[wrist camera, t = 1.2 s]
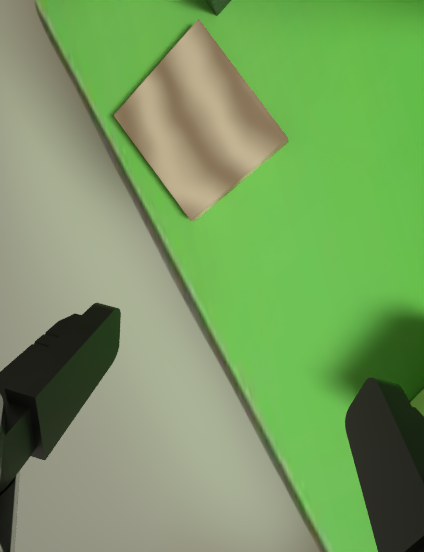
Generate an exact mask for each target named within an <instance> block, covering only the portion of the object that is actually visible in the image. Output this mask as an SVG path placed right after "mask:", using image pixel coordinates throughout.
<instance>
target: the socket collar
mask: <svg viewBox="0 0 424 552" xmlns="http://www.w3.org/2000/svg"><path fill="white" fill-rule="evenodd" d="M230 1H231V0H206V2H207V3H208V4H209V6H210V7H211V8H212V10H213V11H214V12H215V14H216V15H218V14H219V13H220V12H221V11H222V10H223V9H224V8H225V7H226V5H227V4H228V3H229V2H230Z"/></svg>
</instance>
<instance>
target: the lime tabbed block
mask: <svg viewBox="0 0 424 552" xmlns="http://www.w3.org/2000/svg"><path fill="white" fill-rule="evenodd" d="M410 404H411V406H412V407H415V408H416V409H417V410H418V411H419V412H420V413H421V414H422V415H423V416H424V389H423V390H422V391H421V392H420V393H419V394H418V395H417V396H416V397H415V398H414V399H413V400H412V401H411V402H410Z"/></svg>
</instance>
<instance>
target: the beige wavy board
mask: <svg viewBox="0 0 424 552" xmlns="http://www.w3.org/2000/svg"><path fill="white" fill-rule="evenodd" d="M114 117H115V118H116V120H117V121H118V122H119V124H120V125H121V126H122V128H123V129H124V130H125V132H126V133H127V135H128V136H129V137H130V139H131V140H132V141H133V143H134V144H135V145H136V147H137V148H138V149H139V151H140V152H141V154H142V155H143V156H144V158H145V159H146V160H147V162H148V163H149V164H150V166H151V167H152V169H153V170H154V171H155V173H156V174H157V175H158V177H159V178H160V179H161V181H162V182H163V184H164V185H165V186H166V188H167V189H168V190H169V192H170V193H171V194H172V196H173V197H174V198H175V200H176V201H177V203H178V204H179V205H180V207H181V208H182V209H183V211H184V212H185V213H186V215H187V216H188V218H189V219H190V220H191V221H195V220H197V219H198V218H199V217H200V216H201V215H203V214H204V213H205V212H206V211H207V210H208V209H210V208H211V207H212V206H213V205H214V204H216V203H217V202H218V201H219V200H220V199H222V198H223V197H224V196H225V195H226V194H227V193H229V192H230V191H231V190H232V189H233V188H235V187H236V186H237V185H238V184H239V183H240V182H242V181H243V180H244V179H245V178H246V177H248V176H249V175H250V174H251V173H252V172H254V171H255V170H256V169H257V168H258V167H259V166H261V165H262V164H263V163H264V162H265V161H267V160H268V159H269V158H270V157H271V156H272V155H274V154H275V153H276V152H277V151H278V150H280V149H281V148H282V147H283V146H284V145H286V144H287V143H288V138H287V136H286V135H285V134H284V132H283V131H282V130H281V128H280V127H279V126H278V124H277V123H276V122H275V120H274V119H273V118H272V116H271V115H270V114H269V112H268V111H267V110H266V108H265V107H264V106H263V104H262V103H261V102H260V100H259V99H258V98H257V96H256V95H255V94H254V92H253V91H252V90H251V88H250V87H249V86H248V84H247V83H246V82H245V80H244V79H243V78H242V76H241V75H240V74H239V72H238V71H237V70H236V68H235V67H234V66H233V64H232V63H231V62H230V60H229V59H228V58H227V56H226V55H225V54H224V52H223V51H222V50H221V48H220V47H219V46H218V44H217V43H216V42H215V40H214V39H213V38H212V36H211V35H210V34H209V32H208V31H207V30H206V28H205V27H204V26H203V24H202V23H201V22H200V20H199V19H198V20H197V21H196V22H195V23H194V25H193V26H192V27H191V28H190V29H189V30H188V31H187V33H186V34H185V35H184V36H183V37H182V38H181V39H180V41H179V42H178V43H177V44H176V45H175V46H174V47H173V48H172V50H171V51H170V52H169V53H168V54H167V55H166V56H165V58H164V59H163V60H162V61H161V62H160V63H159V64H158V65H157V67H156V68H155V69H154V70H153V71H152V72H151V73H150V75H149V76H148V77H147V78H146V79H145V80H144V81H143V83H142V84H141V85H140V86H139V87H138V88H137V89H136V90H135V92H134V93H133V94H132V95H131V96H130V97H129V98H128V100H127V101H126V102H125V103H124V104H123V105H122V106H121V108H120V109H119V110H118V111H117V112H116V113H115V114H114Z"/></svg>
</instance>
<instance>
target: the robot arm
mask: <svg viewBox="0 0 424 552" xmlns="http://www.w3.org/2000/svg"><path fill="white" fill-rule="evenodd" d="M120 315H121V313H120V309H118V308H115V307H111V306H107V305H103V304H99V303H95V304H93V305H92V306H91V307H90V308H89V309H88V310H87V311H86V312H85V313H84V314H83V315H78V314H73V315H71V316H69V317H67V318H65V319H62V320H60V321H58V322H57V323H56V324H55V325H54V326H53V327H51V328H50V329H49V330H48V331H47V332H46V334H45V335H42V336H41V337H40V338H39V339H37V340H36V341H35V343H34V345H33V344H32V345H31V346H29V347H28V348H27V349H26V350H25V351H24V352H23V353H21V354H20V355H19V356H18V357H17V358H16V359H14V360H13V361H12V362H11V363H10V364H9V365H8V366H6V367H5V368H4V369H3V370H2V371H1V372H0V552H15V537H16V521H17V506H18V505H17V504H18V491H19V475H20V474H19V471H20V469H21V468H22V466H23V465H24V464H25V462H26V461H27V460H28V458H29V457H30V456H33V457H36V458H39V459H42V460H46V458H47V457H48V455H49V454H50V453H51V451H52V450H53V448H54V447H55V445H56V444H57V442H58V441H59V440H60V438H61V437H62V435H63V434H64V432H65V431H66V429H67V428H68V426H69V425H70V424H71V422H72V421H73V419H74V418H75V417H76V415H77V413H78V412H79V411H80V409H81V408H82V406H83V405H84V404H85V402H86V401H87V399H88V398H89V396H90V395H91V393H92V392H93V390H94V389H95V388H96V386H97V385H98V383H99V382H100V380H101V379H102V378H103V376H104V375H105V373H106V372H107V370H108V369H109V368H110V366H111V365H112V363H113V361H114V359H115V357H116V355H117V352H118V348H119V339H120V338H119V337H120V317H121V316H120ZM345 428H346V433H347V437H348V440H349V444H350V448H351V451H352V455H353V459H354V463H355V466H356V470H357V474H358V478H359V481H360V485H361V489H362V493H363V496H364V500H365V504H366V508H367V511H368V515H369V519H370V523H371V526H372V530H373V534H374V538H375V541H376V545H377V549H378V552H424V416H423V415H422V414H421V413H420V412H419V411H418V410H417V409H416V408H415V407H412V406H411V404H410V402H409V400H408V398H407V396H406V395H405V393H404V391H403V389H402V388H401V387H400V386H399V385H397V384H394V383H391V382H387V381H383V380H379V379H376V378H368V379H367V380H366V381H365V383H364V384H363V386H362V388H361V389H360V391H359V392H358V394H357V396H356V397H355V399H354V401H353V402H352V404H351V405H350V407H349V409H348V411H347V414H346V419H345Z"/></svg>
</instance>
